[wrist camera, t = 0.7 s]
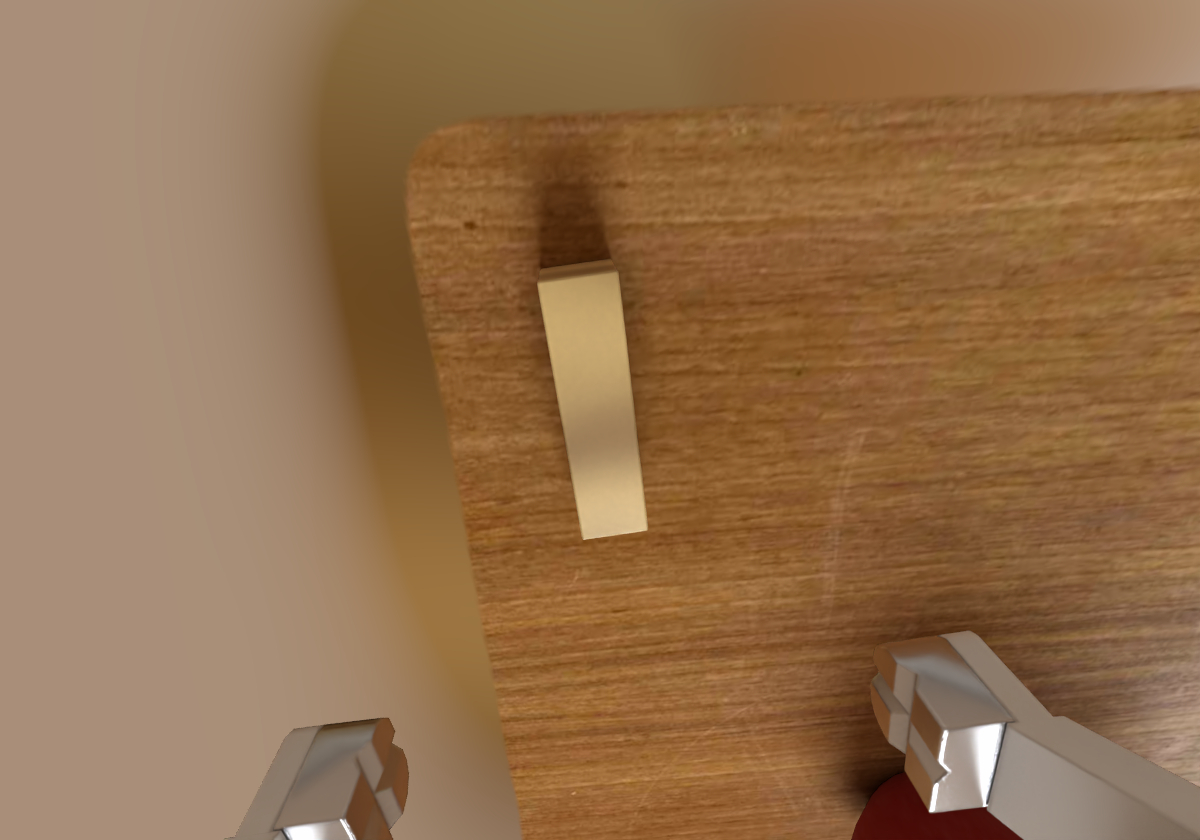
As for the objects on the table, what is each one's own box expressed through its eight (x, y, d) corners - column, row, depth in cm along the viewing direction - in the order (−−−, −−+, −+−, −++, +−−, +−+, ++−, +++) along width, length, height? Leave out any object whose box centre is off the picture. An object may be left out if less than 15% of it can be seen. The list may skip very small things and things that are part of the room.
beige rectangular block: (539, 268, 20) (536, 281, 17) (611, 257, 20) (618, 269, 17) (580, 504, 24) (582, 541, 21) (640, 495, 24) (648, 531, 21)
